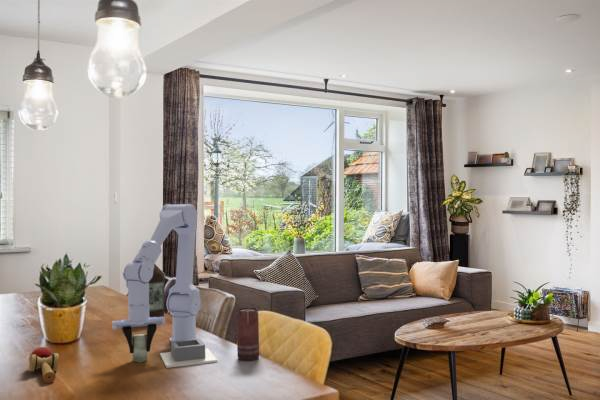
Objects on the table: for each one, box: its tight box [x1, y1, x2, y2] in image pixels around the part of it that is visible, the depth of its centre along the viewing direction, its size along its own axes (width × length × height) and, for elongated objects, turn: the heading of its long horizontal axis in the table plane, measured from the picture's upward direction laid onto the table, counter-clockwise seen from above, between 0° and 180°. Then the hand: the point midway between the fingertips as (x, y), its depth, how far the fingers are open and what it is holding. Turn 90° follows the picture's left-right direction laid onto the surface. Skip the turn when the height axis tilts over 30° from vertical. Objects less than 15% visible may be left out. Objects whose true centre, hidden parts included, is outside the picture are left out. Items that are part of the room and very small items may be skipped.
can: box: [236, 307, 260, 362], centre depth 169 cm, size 6×6×14 cm
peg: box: [132, 333, 148, 363], centre depth 170 cm, size 4×4×7 cm
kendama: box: [28, 346, 60, 384], centre depth 158 cm, size 8×6×18 cm
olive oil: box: [149, 263, 166, 317], centre depth 225 cm, size 11×11×25 cm
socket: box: [159, 338, 218, 369], centre depth 170 cm, size 14×14×4 cm
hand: (139, 351), depth 170 cm, fingers open, 4 cm apart
